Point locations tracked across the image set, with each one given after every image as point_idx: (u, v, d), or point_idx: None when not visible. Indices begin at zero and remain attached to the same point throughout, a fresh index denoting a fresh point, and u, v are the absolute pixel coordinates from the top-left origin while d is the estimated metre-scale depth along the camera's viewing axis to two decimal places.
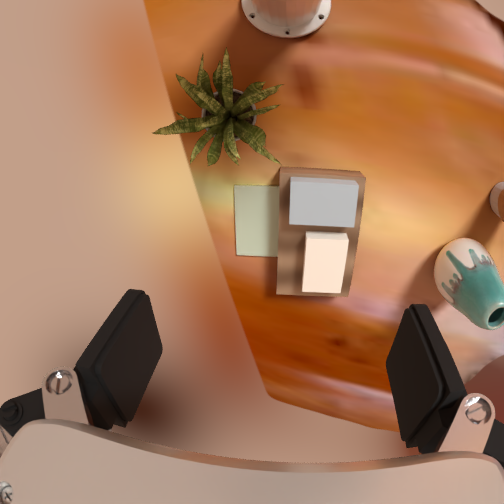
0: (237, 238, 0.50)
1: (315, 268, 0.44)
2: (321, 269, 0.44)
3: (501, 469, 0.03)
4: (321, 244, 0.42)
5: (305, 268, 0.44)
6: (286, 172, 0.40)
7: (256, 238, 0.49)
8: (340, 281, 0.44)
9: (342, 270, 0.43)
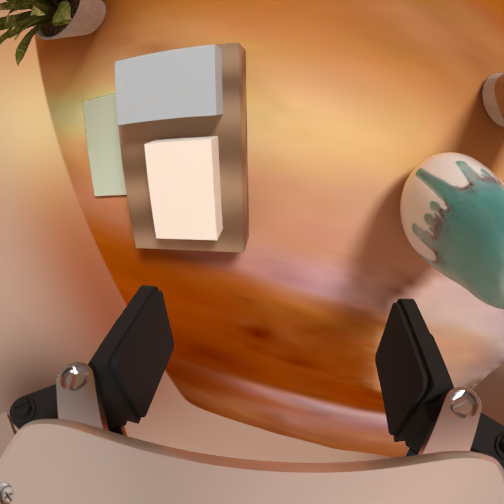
0: (92, 173, 0.32)
1: (166, 194, 0.26)
2: (175, 197, 0.26)
3: (501, 469, 0.03)
4: (167, 151, 0.24)
5: (151, 196, 0.26)
6: None
7: (113, 168, 0.31)
8: (211, 218, 0.26)
9: (211, 196, 0.25)
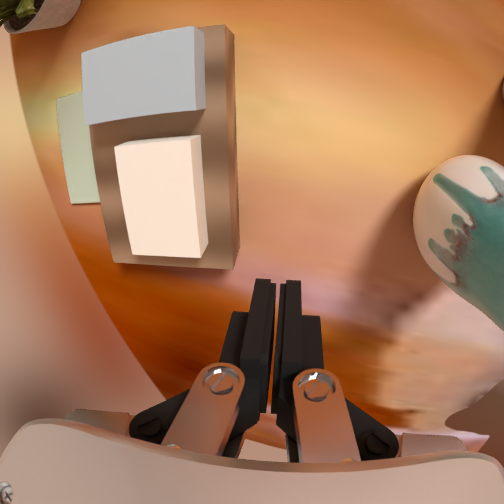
0: (67, 178, 0.28)
1: (141, 205, 0.22)
2: (151, 208, 0.22)
3: (501, 469, 0.03)
4: (140, 155, 0.20)
5: (125, 207, 0.22)
6: None
7: (88, 173, 0.27)
8: (193, 232, 0.22)
9: (191, 208, 0.21)
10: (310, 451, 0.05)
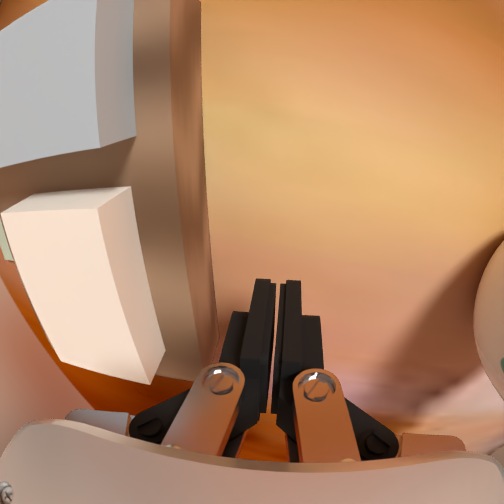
0: None
1: (51, 305, 0.12)
2: (65, 312, 0.12)
3: (501, 469, 0.03)
4: (32, 230, 0.10)
5: (33, 303, 0.12)
6: None
7: None
8: (132, 355, 0.12)
9: (121, 322, 0.11)
10: (310, 451, 0.05)
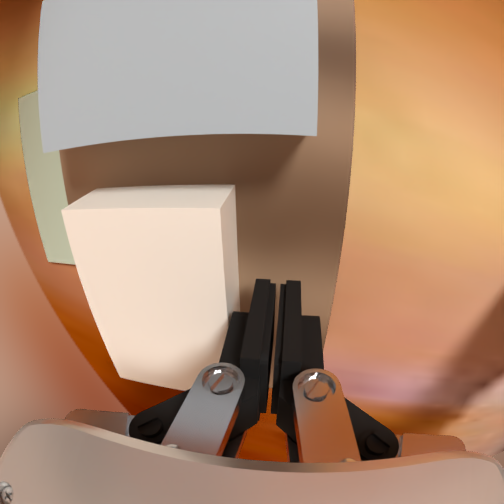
0: (38, 224, 0.17)
1: (124, 318, 0.11)
2: (142, 325, 0.11)
3: (501, 469, 0.03)
4: (111, 231, 0.09)
5: (96, 316, 0.11)
6: None
7: None
8: None
9: (221, 335, 0.11)
10: (310, 451, 0.05)
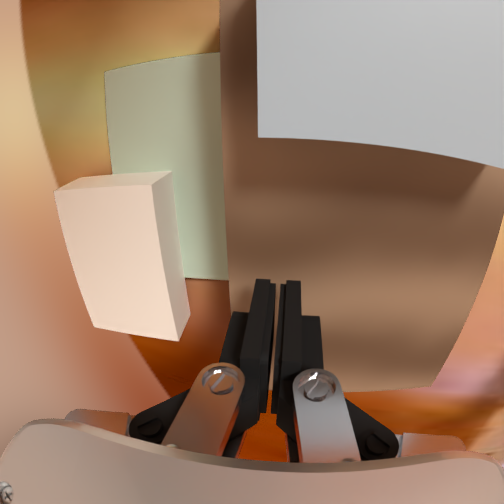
0: None
1: None
2: None
3: (501, 469, 0.03)
4: None
5: None
6: None
7: None
8: None
9: None
10: (310, 451, 0.05)
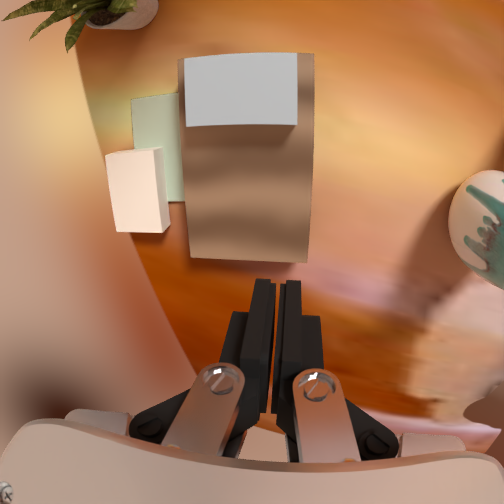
0: None
1: None
2: None
3: (501, 469, 0.03)
4: None
5: None
6: None
7: None
8: None
9: None
10: (310, 451, 0.05)
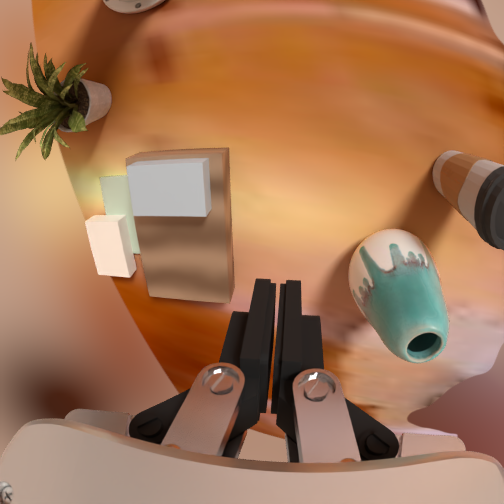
0: None
1: None
2: None
3: (501, 469, 0.03)
4: None
5: (130, 245, 0.43)
6: (133, 157, 0.33)
7: None
8: None
9: None
10: (310, 451, 0.05)
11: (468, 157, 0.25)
